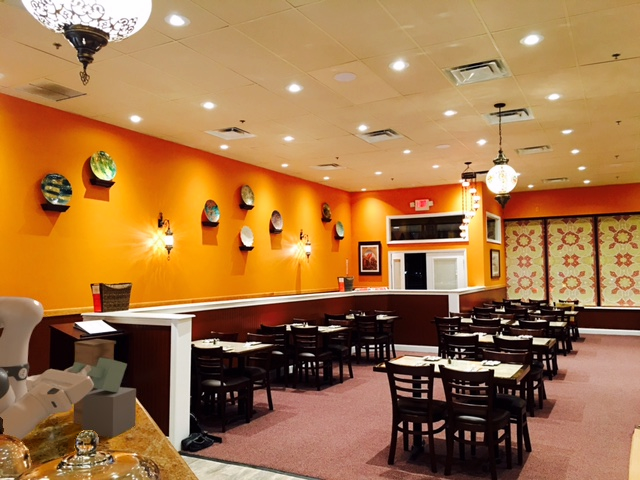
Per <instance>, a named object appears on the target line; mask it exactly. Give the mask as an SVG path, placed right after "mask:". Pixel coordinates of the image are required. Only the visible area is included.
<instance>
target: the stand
mask: <svg viewBox="0 0 640 480" xmlns="http://www.w3.org/2000/svg"><path fill="white" fill-rule="evenodd" d="M116 344H117V341H116V340H109V339H101V338H95V339H88V340H80V341H74V362H77V363H82V364H86V365H90V366H94V367H96V366H97V363H98V360H99V358H105V359H111V360H115V359H114V356H115V355H114V354H115V351H114V350H115V345H116ZM75 374H77V373H75ZM86 376H88V375H86ZM89 377H90V378H91V380H92V378H93V376H89ZM94 390H97V388H92V390H91V391H94ZM91 391H90V392H91ZM82 409H83V398H82V399H81V400H80V401H78V402H77V403H75V404H73V415H72V416H73V421H72V423H74V424H77V425H80V426H82Z"/></svg>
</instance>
